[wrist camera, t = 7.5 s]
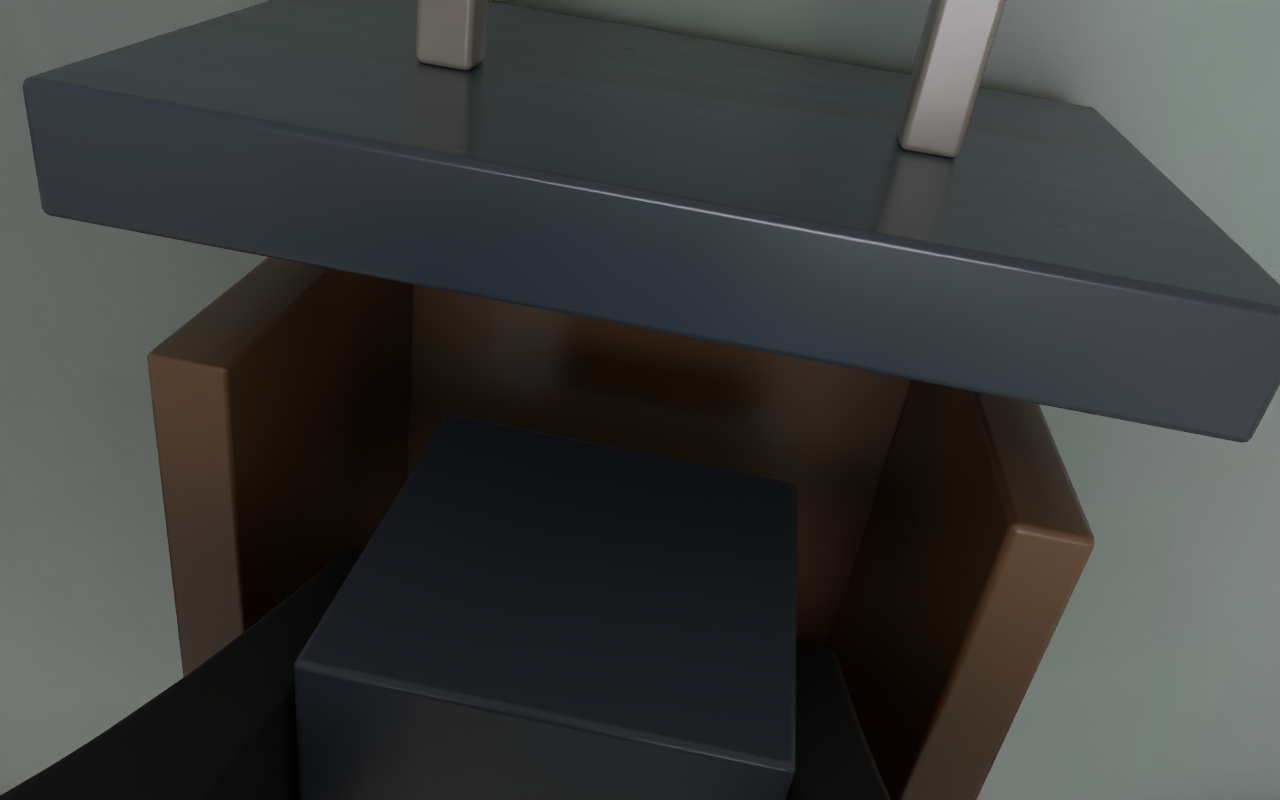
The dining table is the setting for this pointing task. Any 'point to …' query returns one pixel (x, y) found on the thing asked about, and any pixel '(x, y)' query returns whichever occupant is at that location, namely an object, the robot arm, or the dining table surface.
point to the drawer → (662, 306)
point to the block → (559, 631)
